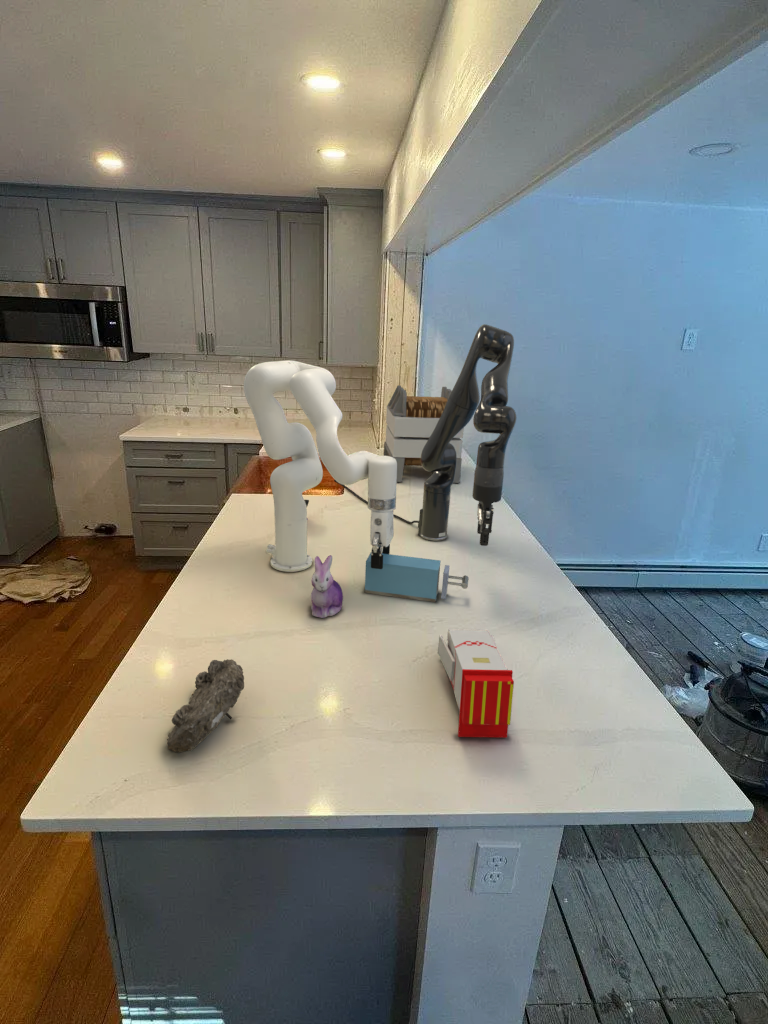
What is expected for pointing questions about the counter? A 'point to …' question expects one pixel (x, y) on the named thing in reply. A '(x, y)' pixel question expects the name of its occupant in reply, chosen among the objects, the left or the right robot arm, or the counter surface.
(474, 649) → the toy
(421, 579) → the cabinet
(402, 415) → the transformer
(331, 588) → the figurine
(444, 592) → the drawer
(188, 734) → the fossil
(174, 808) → the counter surface
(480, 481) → the right robot arm
